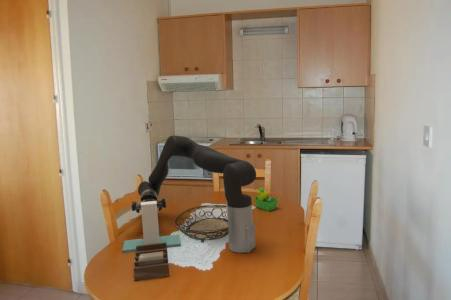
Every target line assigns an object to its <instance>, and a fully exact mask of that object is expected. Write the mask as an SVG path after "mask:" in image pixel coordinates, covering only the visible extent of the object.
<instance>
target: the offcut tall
mask: <svg viewBox="0 0 451 300" xmlns="http://www.w3.org/2000/svg"><path fill="white" fill-rule="evenodd" d="M138 264H139V267H141V266H149V265H156V264H164V259H163V256H155V257H147V258H139V259H138Z"/></svg>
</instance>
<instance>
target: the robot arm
mask: <svg viewBox="0 0 451 300" xmlns="http://www.w3.org/2000/svg"><path fill="white" fill-rule="evenodd" d="M172 157H182V158H188V159H191V160H193V161H192V162H193V163H194V164H195V166H196V167H198V168H200V169H201V170H204V171H206V172H209V173H213V174H222V179H223V188H224V197H225V199H226V203H227V206H226V212H227V211H228V222H227V226H228V227H227V228H228V230H227V231H228V247H229V250H230V251H231V252H234V253H239V254H240V253H250V252H251V251H252V250H254V249H255V248H256V226H255V223H254V222H253V201H252V196H251V195H249V194H245V193H243V192H242V188H243V187H246V186H249V185H251V184H253V182H254V181H256V178H257V172H256V169H255V166H254V165H253V164H252V163H250V162H249V161H247V160H243V159H240V158H239V159H238V158H235V157H232V156H229V155H227V154H225V153H223V152H220V151H218V150H216V149H213V148H211V147H209V146H205V145H204V144H203V145H202V144H199V143H197V142H195V141H194V140H192V139H191V138H188V137H187V136H182V135H181V136H180V135H170V136H169V137H168V138H166V141H165V143H164V144H163V147H162V150H161V152H160V155H159V157H158V161H157V163H156V165H155V167H154V168H153V170H152V171H151V173H150V174H149V176H148V179H147V180H148V181H146V180H145V181H142V182H140V184H139V185H138V187H137V194H138V195H139V196H140V200H139V202H136V201H133V202H131V212H136V213H137V214H140V213H141V212H140V211H141V202H149V201H157V210H158V211H159V212H161V211H162V210H163V209H166V208H167V202H166V199H165V198H162V199H161V200H159V199H158V197H159V194H160V191H161V187H162V184H163V183H164V182H165V180H166V178H167V177H168V174H169V161H170V159H171V158H172Z"/></svg>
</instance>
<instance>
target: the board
mask: <svg viewBox="0 0 451 300" xmlns="http://www.w3.org/2000/svg"><path fill="white" fill-rule="evenodd" d="M159 239H160V243H164V242H166V243H167V249H168V248H177V247H181V246H182V243H181V238H180V234H170V235H162V236H161V235H160V236H159ZM138 245H144V238H138V239H137V238H136V239H129V240H128V239H127V240H124V241H123V246H122V250H121V251H122V254H127V253H134V252H136V246H138Z"/></svg>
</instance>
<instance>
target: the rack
mask: <svg viewBox="0 0 451 300" xmlns="http://www.w3.org/2000/svg"><path fill="white" fill-rule="evenodd" d="M162 251H163V259H164V264H156V265H149V266H141V267H139V264H138V259H139V256H140V254H146V253H154V252H162ZM134 260H135V261H134V263H133V265H134V267H133V275H134V276H133V277H134V278H133V279H134V281H135V282H137V281H141V280H142V281H143V280H144V281H145V280H150V279H157V278H164V277H165V278H166V277H170V267H169V256H168V248H167V243H166V242H164V243H155V244H147V245H138V246H136V252H135V256H134Z"/></svg>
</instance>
